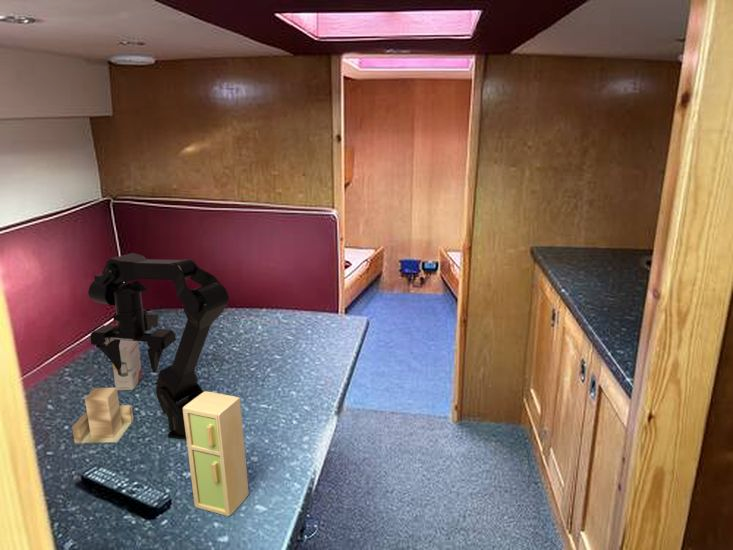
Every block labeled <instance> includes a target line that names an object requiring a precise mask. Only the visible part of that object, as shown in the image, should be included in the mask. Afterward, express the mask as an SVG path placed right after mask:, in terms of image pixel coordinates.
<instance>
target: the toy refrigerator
mask: <svg viewBox="0 0 733 550" xmlns="http://www.w3.org/2000/svg"><path fill="white" fill-rule="evenodd" d="M183 416H184V424H185V432H186V439H185V440H186V445H187V447H186V448H187V453H188V454H187V455H188V463H189V471H190V479H191V480H190V481H191V487H192V495H193V502H194V507H195V508H197V509H200V510H205V511H208V512H212V513H215V514H219V515H222V516H226V517H230V516H231V515H233V514H234V513H235V511H237V509H238V508H239V507H240V505H242V503H244V501H245V500H246V499H247V498H248V496H249V493H250V492H249V483H248V482H249V479H248V471H247V461H246V460H247V458H246V450H245V447H246V446H245V439H244V437H245V436H244V428H243V427H244V425H243V416H242V404H241V398H240V397H238V396H233V395H229V394H224V393H223V394H222V393H219V392H218V393H217V392H212V391H207V390H206V391H204V392H203V393H201V394H200V395H199V396H197V397H196V398H195V399H193V400H192V401H191V402H189V403H188V404H186V405H185V406H184V407H183Z"/></svg>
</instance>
